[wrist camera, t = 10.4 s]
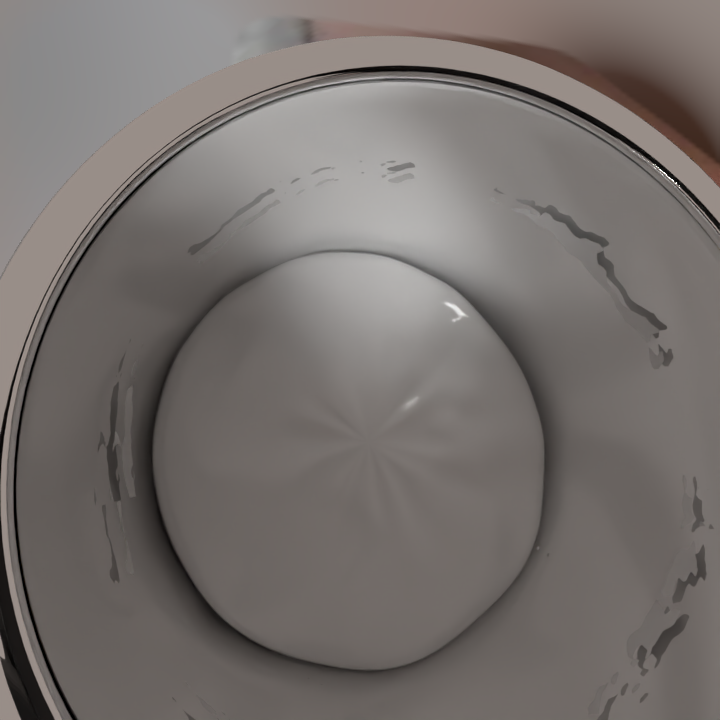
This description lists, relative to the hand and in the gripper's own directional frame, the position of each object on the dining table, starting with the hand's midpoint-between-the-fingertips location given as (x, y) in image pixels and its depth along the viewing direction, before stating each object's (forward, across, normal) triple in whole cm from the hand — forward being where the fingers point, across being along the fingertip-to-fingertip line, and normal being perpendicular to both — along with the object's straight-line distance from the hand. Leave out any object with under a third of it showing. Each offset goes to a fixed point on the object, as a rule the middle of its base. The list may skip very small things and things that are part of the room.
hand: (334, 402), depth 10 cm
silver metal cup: (+6, 0, +7) cm, 9 cm away
